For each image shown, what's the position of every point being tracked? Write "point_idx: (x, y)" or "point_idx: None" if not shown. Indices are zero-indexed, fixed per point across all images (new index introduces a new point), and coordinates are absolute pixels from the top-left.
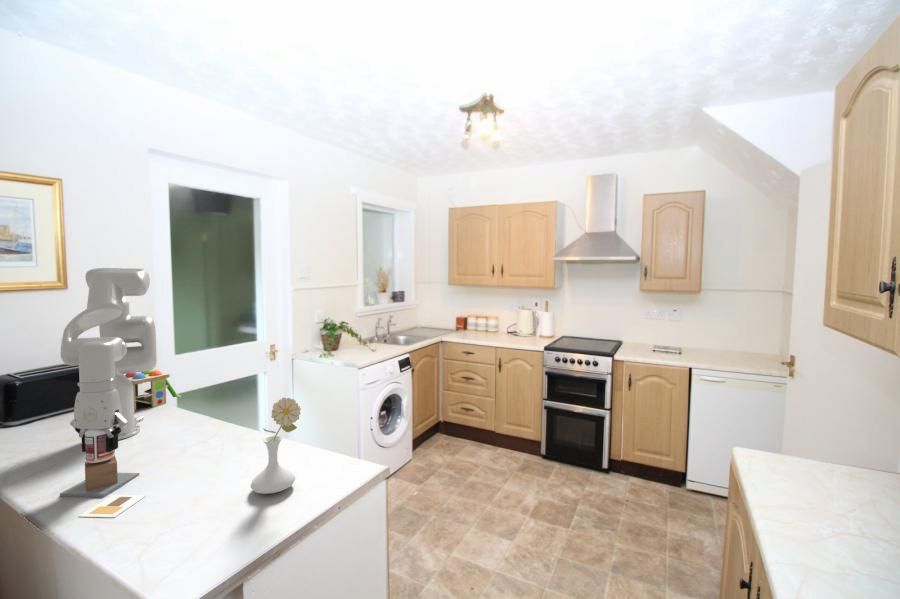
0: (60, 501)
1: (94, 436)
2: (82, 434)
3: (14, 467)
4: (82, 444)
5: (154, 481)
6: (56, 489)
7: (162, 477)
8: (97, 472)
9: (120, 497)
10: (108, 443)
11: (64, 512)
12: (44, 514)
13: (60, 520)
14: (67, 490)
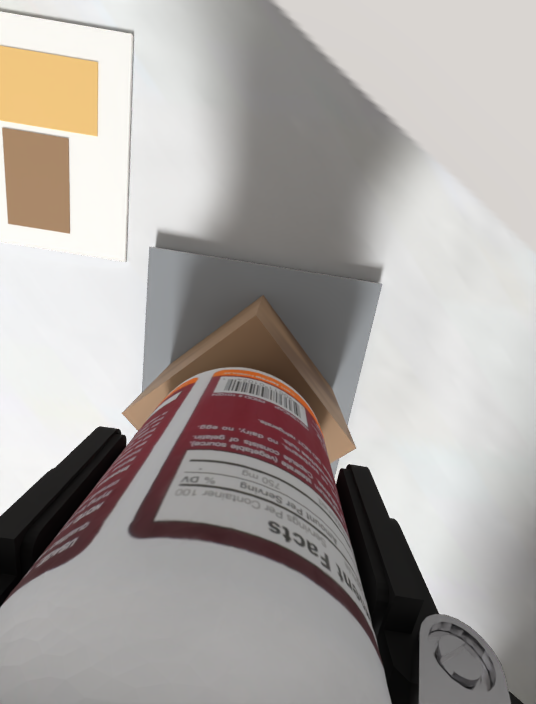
0: (341, 229)
1: (113, 545)
2: (438, 669)
3: None
4: (380, 517)
5: (33, 382)
6: (439, 358)
7: (26, 416)
8: (214, 341)
9: (63, 225)
10: (42, 480)
11: (242, 102)
12: (330, 91)
13: (201, 6)
14: (363, 312)
